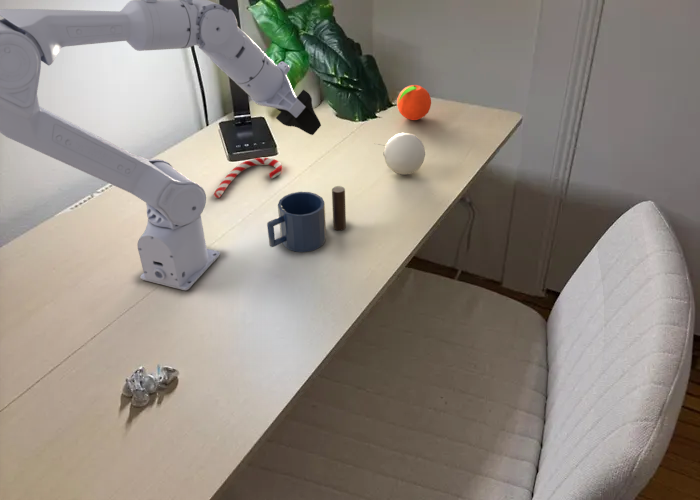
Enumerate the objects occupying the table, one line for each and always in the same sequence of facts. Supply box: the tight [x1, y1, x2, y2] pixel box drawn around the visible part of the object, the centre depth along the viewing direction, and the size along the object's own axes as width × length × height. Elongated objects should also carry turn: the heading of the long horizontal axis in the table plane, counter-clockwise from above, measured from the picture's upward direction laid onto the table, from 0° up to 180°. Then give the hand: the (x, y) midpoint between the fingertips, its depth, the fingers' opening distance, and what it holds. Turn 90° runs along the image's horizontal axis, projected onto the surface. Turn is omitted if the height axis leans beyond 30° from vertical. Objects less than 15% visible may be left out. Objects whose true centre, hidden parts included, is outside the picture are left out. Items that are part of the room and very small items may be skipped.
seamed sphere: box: [373, 132, 426, 175], centre depth 120 cm, size 10×7×7 cm
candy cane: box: [213, 157, 283, 199], centre depth 120 cm, size 8×1×15 cm
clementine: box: [396, 84, 432, 121], centre depth 137 cm, size 8×7×7 cm
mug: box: [266, 191, 327, 253], centre depth 103 cm, size 10×7×6 cm
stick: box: [331, 185, 347, 231], centre depth 106 cm, size 2×2×7 cm
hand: (302, 118), depth 103 cm, fingers open, 7 cm apart
